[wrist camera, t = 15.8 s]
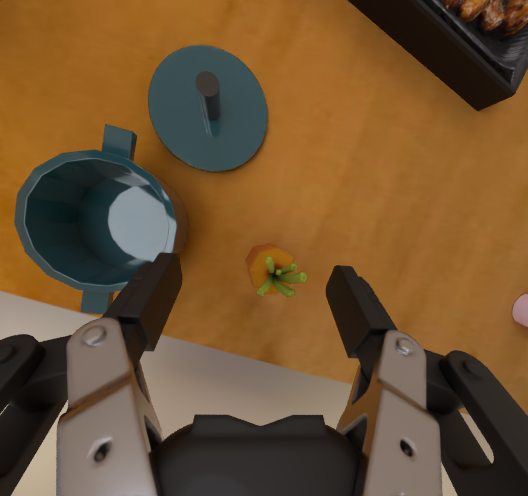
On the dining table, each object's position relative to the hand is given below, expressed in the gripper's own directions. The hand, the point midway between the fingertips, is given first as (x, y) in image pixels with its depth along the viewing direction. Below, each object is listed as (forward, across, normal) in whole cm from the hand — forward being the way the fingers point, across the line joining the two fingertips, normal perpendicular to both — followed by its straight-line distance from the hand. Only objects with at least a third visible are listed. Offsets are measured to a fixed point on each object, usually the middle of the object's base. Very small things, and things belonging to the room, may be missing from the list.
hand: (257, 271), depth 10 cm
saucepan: (+16, +16, +7) cm, 23 cm away
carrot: (+16, -1, +11) cm, 19 cm away
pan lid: (+23, +6, -6) cm, 25 cm away
